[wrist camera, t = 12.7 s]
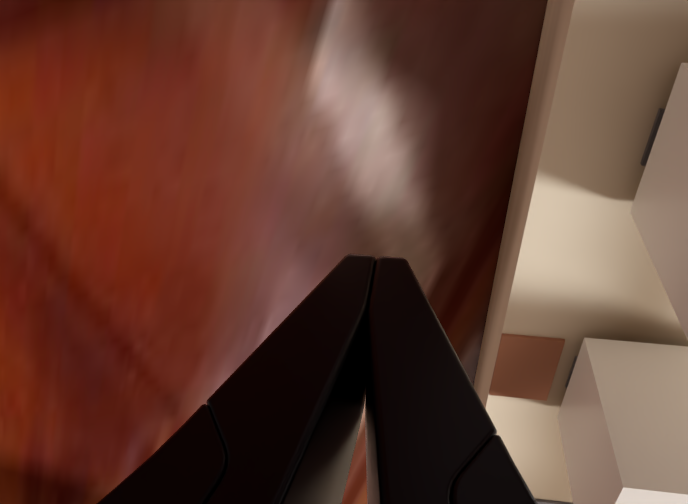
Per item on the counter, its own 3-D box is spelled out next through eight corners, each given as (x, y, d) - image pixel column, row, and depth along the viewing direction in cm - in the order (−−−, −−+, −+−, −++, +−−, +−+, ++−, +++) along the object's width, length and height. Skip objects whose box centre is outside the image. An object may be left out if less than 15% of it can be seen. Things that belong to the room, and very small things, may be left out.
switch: (557, 416, 17) (584, 563, 14) (584, 337, 15) (623, 487, 12) (706, 431, 16) (770, 587, 13) (753, 352, 14) (843, 511, 11)
